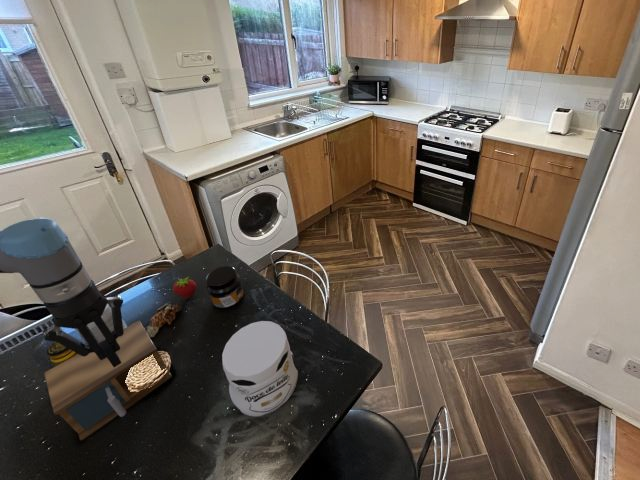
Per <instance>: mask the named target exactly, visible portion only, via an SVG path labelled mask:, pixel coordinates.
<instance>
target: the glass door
mask: <svg viewBox="0 0 640 480" xmlns="http://www.w3.org/2000/svg"><path fill="white" fill-rule="evenodd" d="M129 400H130V397H129V396H128V394H127V393H126V392H125V390H124V389H123V388H122V386H121V385H120V383H119V382H118V381H117V379H116V378H114V379H112V380H111V381H109V382H108V383H106V384H104V385H103V386H101V387H100V388H98V389H96V390H95V391H93V392H92V393H90V394H89V395H87V396H85V397H84V398H82V399H81V400H79V401H77V402H76V403H74V404H73V405H71V406H70V407H68V408H66V411H67V412H68V413H69V414H70V415H71V416H72V417H73V418H74V419H75V420H76V421H77V422H78V423H79V424H80V425H81V426H82V427H83V429H84V430H87V429H88V428H90V427H91V426H92V425H94V424H95V423H97V422H98V421H100V420H101V419H103V418H104V417H106V416H107V415H108V414H110V413H111V412H113V411H114V410H115V411H116V412H117V414H118V415H117V416H119V417H121V418H123V417H125V416H126V414H127V409H126V410H125V409H124V408H123V406H122V405H123V404H124V403H126V402H127V401H129Z"/></svg>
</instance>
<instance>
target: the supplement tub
mask: <svg viewBox="0 0 640 480" xmlns="http://www.w3.org/2000/svg"><path fill="white" fill-rule="evenodd" d="M101 317H102V319H103V320H104V322H105V323H106V325H107V326H108V328H109V329H110V331H111V332H112V331H114V326H113V319H112V311H111V307H109V305H108V304H107V305H106V308H105V310H104V312H103V315H102V316H101ZM122 323H123V329H124V328H126V327H128V325H127V323H126V322H125V320H124V319H123V318H122ZM87 326H88V327H89V329H90V330H91V332H92V333H93V335H94V336H95V338H96V339H97V340H98V343H99V342H101V341H103V340H104V339H105V337H104V336H103V334H102V333H101V331H100V330H99V328H98V327H97V326H96V324H95V323H94V322H92V323H89V324H88V325H87ZM74 330H75V331H76V332H77V333H78V335H79V336H80V337H81V339H82V340H83V341H84V343H86V344H85V345H89V344H88V343H87V341H86V340H85V338H84V337H83V336H82V334H81V333H80V332H79V331H78V329H74Z"/></svg>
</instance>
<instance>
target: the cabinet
mask: <svg viewBox="0 0 640 480" xmlns="http://www.w3.org/2000/svg"><path fill="white" fill-rule="evenodd" d="M144 328H145V327H144V326H143V323H142V322H141V320H136V321H135V322H133V323H131V324H129V325H127V327H126V328H124V329H123V331H124V334H123V335H122V336H120V337H118V338H117V339H116V341H117V342H118V344H119V346H120V350H118V351H117V352H116V353H117V355H118V356H119V358H120V360H121V364H119V365H118V366H116V367H113V366H112V364H111V363H110V361H109V360H108V358H107V357H106V358H105V359H103V360H100V359H99V358H98V356H97V355H96V353H94V352H92V353H89V354H88V355H87V356H81V355H79V354H77V355H76V356H74V357H72V358H70V359H68V360H67V361H65V362H63V363H61V364H59V365H57V366H56V367H55V366H53V367H52V368H50V369H48V370H46V371H45V372H44V373H43V374H44V379H45V382H46V387H47V391H48V395H49V399H50V403H51V407H52V411H53V415H55V416H57V415H59V416H60V417H61V418H62V419H63V420H64V421H65V422H66V423H67V424H68V425H69V426H70V427H71V428H72V429H73V430H74V431H75V433H77V434H78V438H79V440H80V441H83V440H85V439H86V438H88V437H89V436H90V435H92V434H93V433H95V432H96V431H97V430H100V429H101V428H102V427H104V426H105V425H107V424H108V423H109V422H111V421H112V420H113V419H115V418H116V417H117V416H119V415H118V414H117V412H116V411H115V410H114V411H113V412H111V413H110V414H108V415H107V416H106V417H104V418H103V419H101V420H100V421H98V422H97V423H95V424H94V425H92V426H91V427H90V428H88V429H87V430H84V429H83V427H82V426H81V425H80V424H79V423H78V422H77V421H76V420H75V419H74V418H73V417H72V416H71V415H70V414H69V413H68V412H67V411H66V408H68V407H70V406H71V405H73V404H74V403H76V402H77V401H79V400H81V399H82V398H84V397H85V396H87V395H89V394H90V393H92V392H93V391H95V390H96V389H98V388H100V387H101V386H103V385H104V384H106V383H108V382H109V381H111V380H112V379H114V378H116V379H117V381H118V382H119V383H120V385H121V386H122V388H123V389H124V390H125V392H126V393H127V394H128V396H129V397H130V400H129V401H127V402H126V403H124V404H123V405H122V406H123V408H124V409H125V410H126V411H127V410H128V409H129V408H131V407H132V406H133V405H135V404H136V403H138V402H139V401H140V400H142V399H143V398H145V397H146V396H148V395H149V394H150V393H152V392H153V391H155V390H156V389H157V388H160V387H161V386H162V385H163V384H165V383H166V382H167V381H169V380H170V379H171V378H173V375H172V374H171V372H170V371H168V372H167V373H166V374H165V375H164V377H163V378H162V379H161V381H159V382H158V383H157V384H156V385H154V386H152V387H150V388H146V389H143V390H140V391H139V392H130V391H129V390H128V387H127V385H126V383H125V380H126V377H127V375H128V372H129V370H130V368H131V367H133V366H134V365H136V364H138V363H139V362H141V361H142V360H144V359H145V358H147V357H149V356H150V355H152V354H153V356H154V358H155V359H156V361H157V363H158V365H159V366H160V368H161V370H163V369H165V368H167V369H168V366H167V365H166V363H165V362H164V360H163V358H162V356H161V355H160V353H159V351H158V349H157V347H156V345H155V344H154V341H152V339H151V337H149V336H148V334H147V332H146V331H145V329H144ZM104 340H105V339H104ZM101 342H102V341H101ZM99 343H100V342H99Z"/></svg>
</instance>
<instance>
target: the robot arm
mask: <svg viewBox="0 0 640 480" xmlns="http://www.w3.org/2000/svg"><path fill="white" fill-rule="evenodd" d="M0 274H20V275H21V276H22V277H23V278H24V281H26V282H27V284H28V285H29V287H30V288H31V289H32V290H33V292H34V293H35V294H36V296H37V297H38V299H39V300H40V302H43V306H44V307H45V308H46V309H47V311H48V312H49V313H50V315H51V316H52V322H53V323H52V324H51V325H50V327H47V328H44V329H43V330H42V335H43V339H44V341H48V342H58V343H60V344H61V345H63V346H65V347H67V348H69V349H70V350H72V351H74V352H76V353H77V354H79V355H81V356H87V355H88V354H89V353H92V352H94V353H96V355H97V356H98V358H99V359H100V360H103V359H105V358H106V357H107V358H108V360H109V361H110V363H111V364H112V366H113V367H116V366H118V365H119V364H121V360H120V358H119V356H118V355H117V353H116V352H117V351H118V350H120V346H119V344H118V342H117V341H116V339H117V338H118V337H120V336H122V335H123V334H124V331H123V323H122V319H123V317H122V308H123V307H122V306H123V304H124V299H123V298H122V296H121V294H120V293H117V294H115V295H114V296H110V297H107V296H106V295H105V294H102V293H101V292H100V289H99V288H98V287H97V285H96V283H95V282H94V279H93V280H92V277H91V275H90V273H89V272H88V270H87V268H86V266H85V264H84V263H83V261H82V260H81V258H80V257H79V254H77V251H76V250H75V248H74V247H73V245H72V243H71V241H70V240H69V238H68V235H67V234H66V232H65V231H63V229H62V228H61V227H60V226H59V224H58V222H57V221H56V220H54V219H52V218H48V217H36V218H33V219H25V220H21V221H19V222H16V223H12V224H11V225H9V226H7V227H5V228H3V229H2V230H0ZM107 304H108V305H109V307H111V311H112V319H113V326H114V331H112V332H111V331H110V329H109V328H108V326H107V325H106V323H105V322H104V320H103V319H102V317H101V316H102V315H103V312H104V310H105V308H106V305H107ZM92 322H94V323H95V324H96V326H97V327H98V328H99V330H100V331H101V333H102V334H103V336H104V337H105V340H103V341H102V342H100V343H98V340H97V339H96V338H95V336H94V335H93V333H92V332H91V330H90V329H89V327H88V326H87V325H88V324H89V323H92ZM62 328H65V329H73V330H75V329H78V331H79V332H80V333H81V334H82V336H83V337H84V338H85V340H86V341H87V343H88V344H89V345H87V344H85V342H82V341H80V340H79V339H77V338H76V337H74V336H72V335H70V334H69V333H67V332H66V331H64V330H63V329H62Z"/></svg>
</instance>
